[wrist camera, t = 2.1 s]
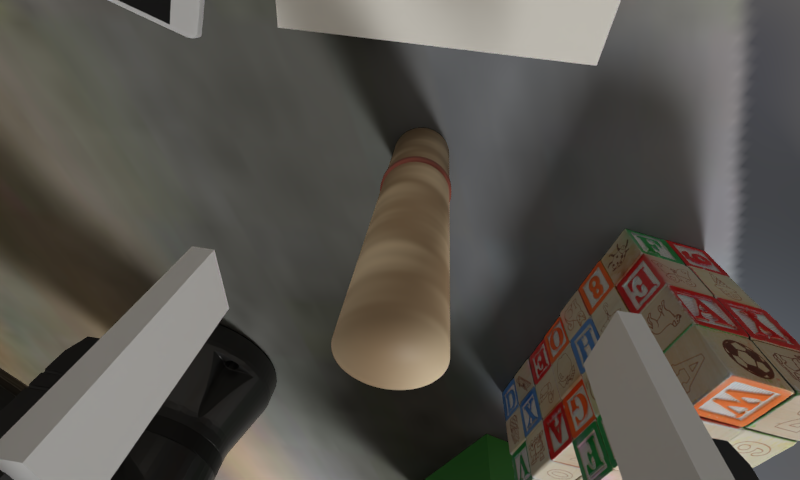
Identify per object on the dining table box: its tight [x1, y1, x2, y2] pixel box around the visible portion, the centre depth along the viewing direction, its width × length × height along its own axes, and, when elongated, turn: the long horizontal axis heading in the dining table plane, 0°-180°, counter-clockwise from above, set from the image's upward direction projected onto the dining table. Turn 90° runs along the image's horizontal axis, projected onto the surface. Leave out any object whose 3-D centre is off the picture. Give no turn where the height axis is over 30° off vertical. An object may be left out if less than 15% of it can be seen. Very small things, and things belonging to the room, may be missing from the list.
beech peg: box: [331, 128, 451, 390], centre depth 18 cm, size 4×4×16 cm
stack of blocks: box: [502, 229, 800, 480], centre depth 27 cm, size 21×6×12 cm, turn 166°
